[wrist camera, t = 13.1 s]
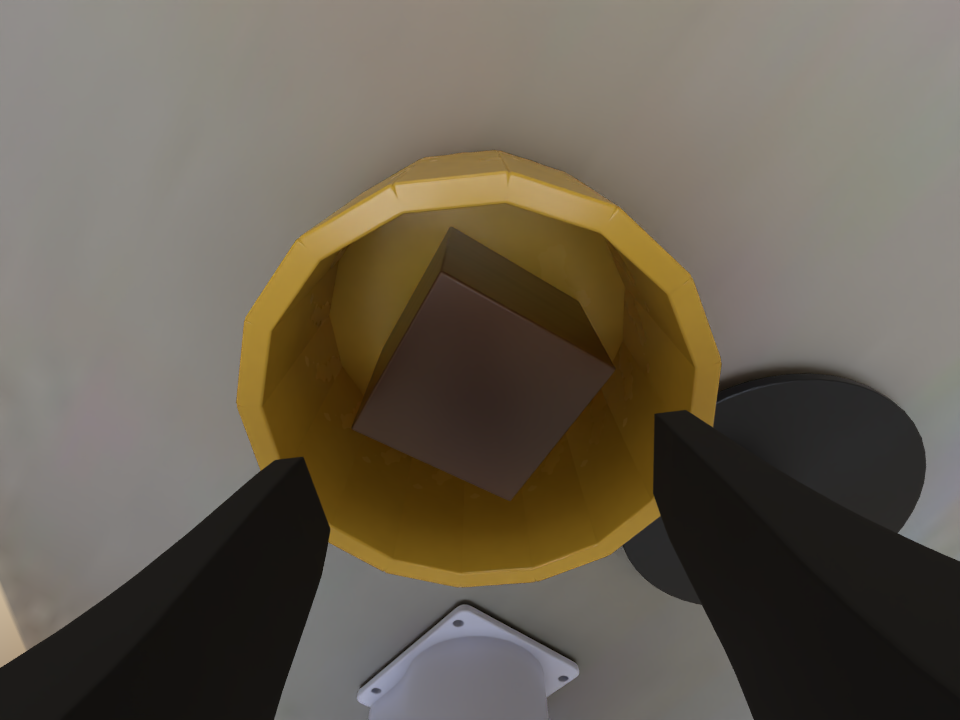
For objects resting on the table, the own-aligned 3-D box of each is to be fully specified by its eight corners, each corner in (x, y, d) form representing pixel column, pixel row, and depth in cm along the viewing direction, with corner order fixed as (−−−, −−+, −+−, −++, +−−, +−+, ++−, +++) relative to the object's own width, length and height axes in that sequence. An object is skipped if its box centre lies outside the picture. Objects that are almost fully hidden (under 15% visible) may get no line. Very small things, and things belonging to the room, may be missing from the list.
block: (502, 409, 19) (510, 502, 14) (382, 348, 17) (349, 429, 13) (579, 301, 17) (617, 370, 12) (450, 225, 16) (440, 270, 11)
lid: (729, 621, 25) (781, 724, 21) (555, 506, 21) (574, 602, 17) (960, 474, 21) (1083, 566, 17) (791, 303, 17) (892, 364, 13)
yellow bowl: (496, 494, 21) (504, 637, 15) (259, 343, 18) (156, 452, 12) (704, 301, 17) (818, 395, 11) (450, 64, 14) (433, 29, 8)
